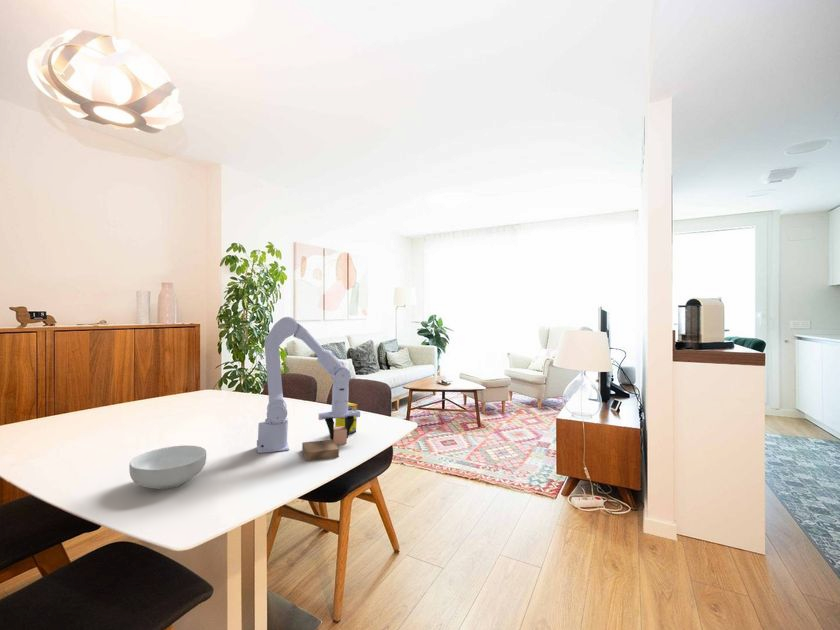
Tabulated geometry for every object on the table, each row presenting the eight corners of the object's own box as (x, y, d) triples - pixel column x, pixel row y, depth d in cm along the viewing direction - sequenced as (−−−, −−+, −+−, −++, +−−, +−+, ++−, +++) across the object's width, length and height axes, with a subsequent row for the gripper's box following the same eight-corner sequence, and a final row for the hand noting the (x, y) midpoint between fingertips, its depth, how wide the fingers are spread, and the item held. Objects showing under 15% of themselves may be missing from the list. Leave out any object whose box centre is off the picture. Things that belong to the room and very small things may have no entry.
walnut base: (306, 460, 116) (306, 452, 116) (302, 450, 125) (302, 442, 125) (338, 456, 120) (338, 448, 120) (332, 446, 129) (332, 439, 129)
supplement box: (345, 435, 142) (346, 406, 142) (334, 432, 145) (335, 404, 145) (356, 432, 146) (357, 404, 147) (346, 429, 150) (347, 401, 150)
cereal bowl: (123, 481, 98) (124, 454, 98) (195, 465, 110) (196, 441, 110) (134, 505, 86) (135, 474, 86) (213, 484, 98) (215, 457, 98)
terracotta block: (333, 445, 131) (334, 430, 131) (331, 441, 135) (331, 427, 135) (346, 443, 133) (347, 429, 133) (343, 439, 137) (344, 426, 137)
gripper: (321, 403, 127) (319, 444, 127) (363, 401, 133) (361, 439, 133) (318, 399, 134) (316, 437, 134) (357, 397, 140) (356, 433, 139)
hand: (338, 438), depth 134 cm, fingers closed on terracotta block, 4 cm apart
